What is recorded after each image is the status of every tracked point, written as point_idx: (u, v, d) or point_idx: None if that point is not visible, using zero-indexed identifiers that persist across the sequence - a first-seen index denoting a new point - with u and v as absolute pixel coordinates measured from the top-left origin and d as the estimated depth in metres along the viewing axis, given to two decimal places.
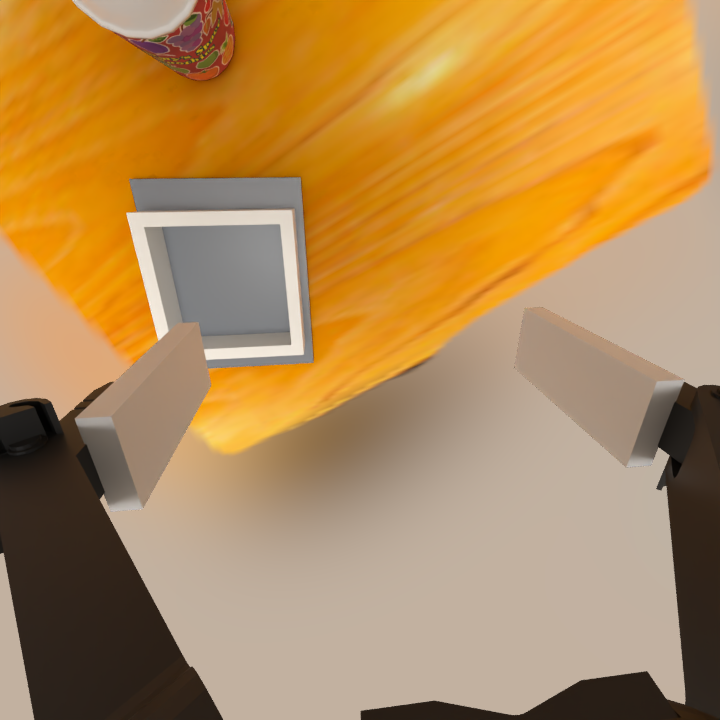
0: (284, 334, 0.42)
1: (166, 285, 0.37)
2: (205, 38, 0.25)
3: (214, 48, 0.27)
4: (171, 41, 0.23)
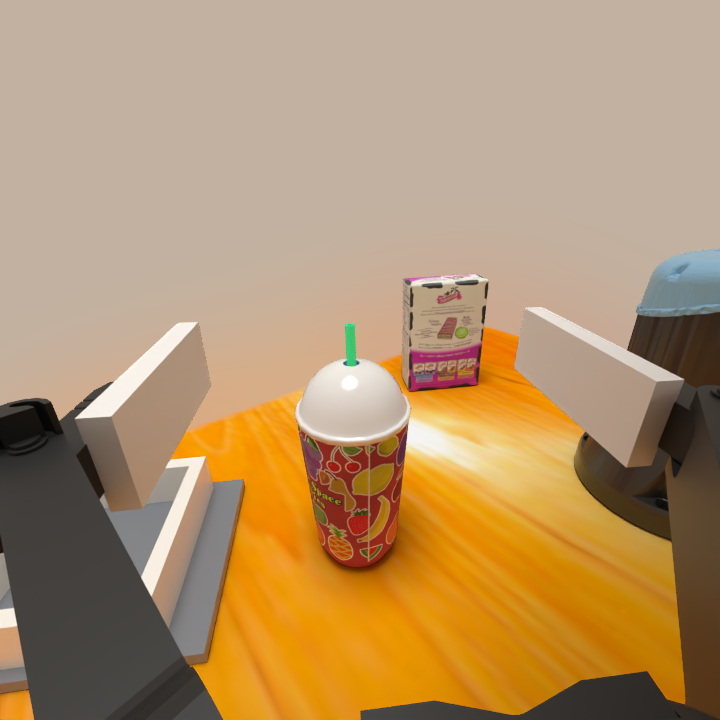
0: None
1: None
2: (319, 483, 0.26)
3: (324, 509, 0.27)
4: (302, 440, 0.26)
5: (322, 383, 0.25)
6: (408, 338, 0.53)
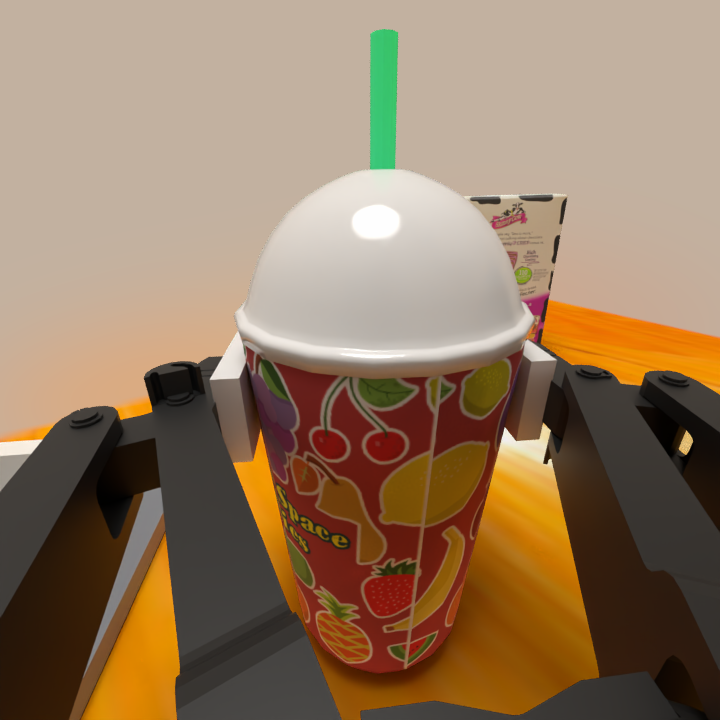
0: None
1: None
2: (293, 491, 0.10)
3: (305, 553, 0.11)
4: (251, 379, 0.10)
5: (302, 209, 0.09)
6: None
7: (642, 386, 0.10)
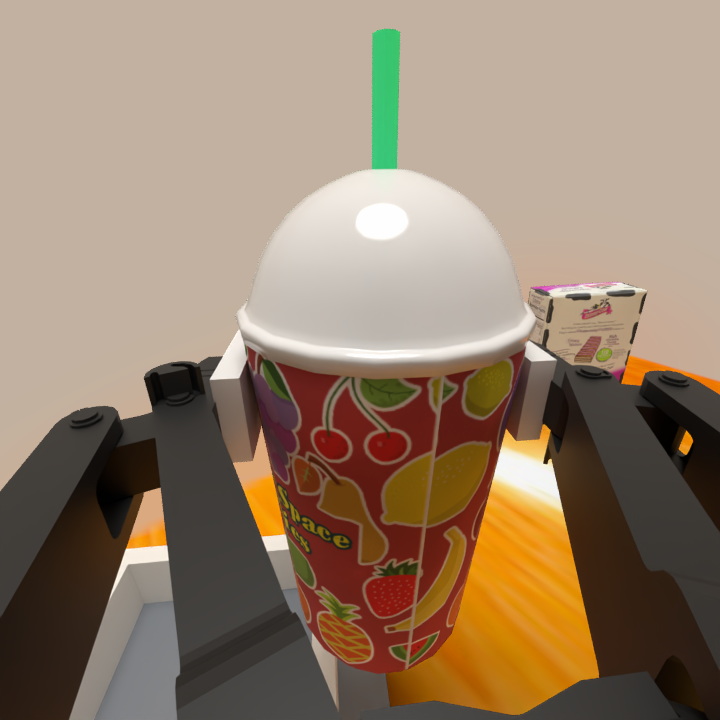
0: None
1: None
2: (294, 491, 0.10)
3: (307, 553, 0.11)
4: (252, 379, 0.10)
5: (304, 209, 0.09)
6: None
7: (642, 386, 0.10)
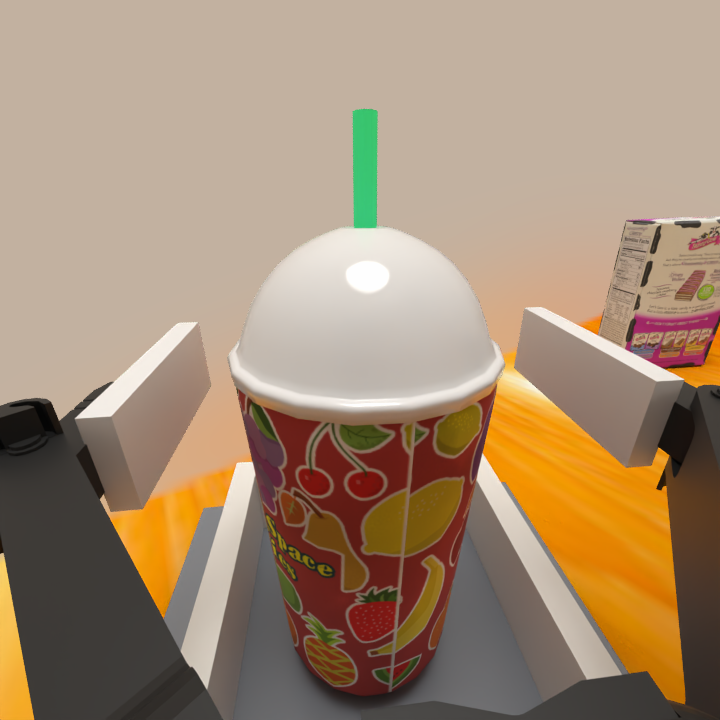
0: None
1: None
2: (281, 522, 0.11)
3: (293, 580, 0.12)
4: (243, 416, 0.11)
5: (290, 265, 0.10)
6: (633, 299, 0.40)
7: None
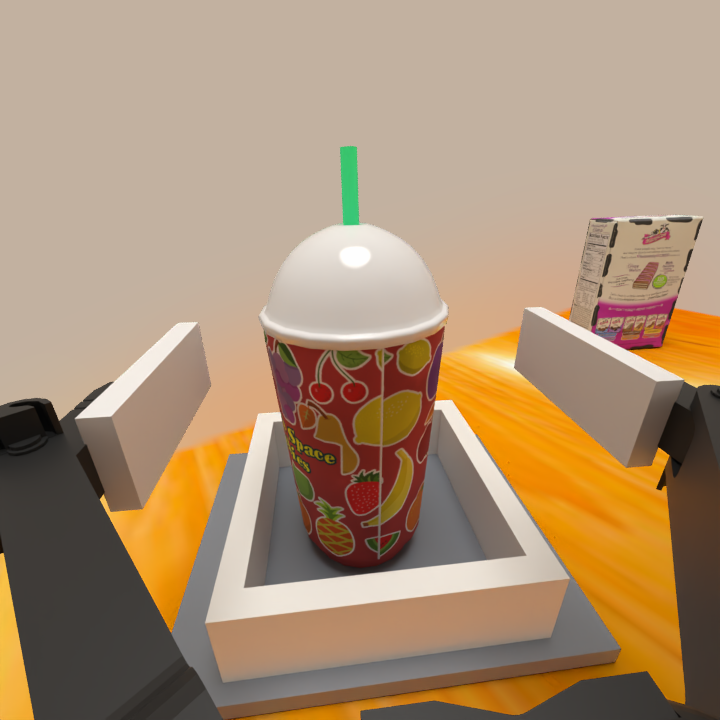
0: None
1: None
2: (299, 428, 0.16)
3: (308, 473, 0.17)
4: (270, 357, 0.16)
5: (301, 251, 0.14)
6: (596, 287, 0.46)
7: None
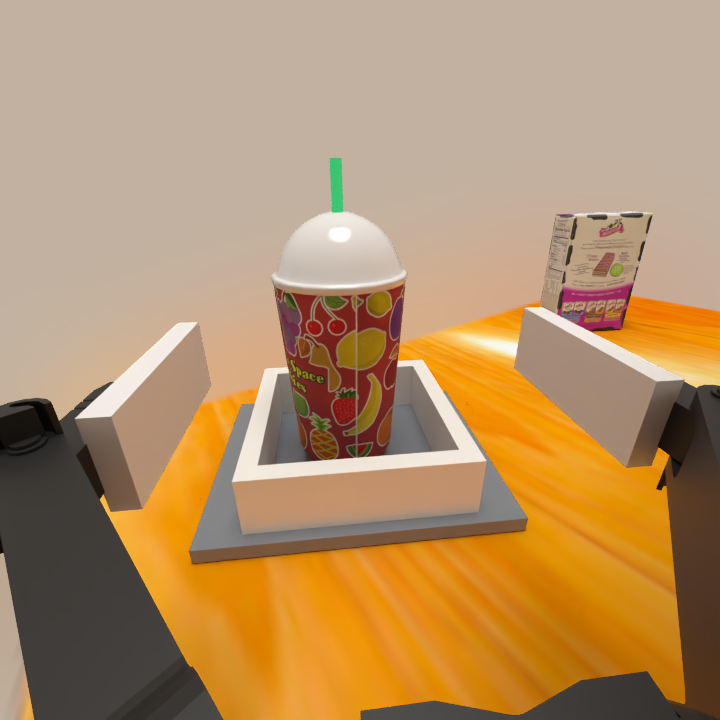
0: None
1: None
2: (298, 357, 0.22)
3: (304, 393, 0.23)
4: (279, 307, 0.22)
5: (302, 230, 0.21)
6: (561, 275, 0.52)
7: None
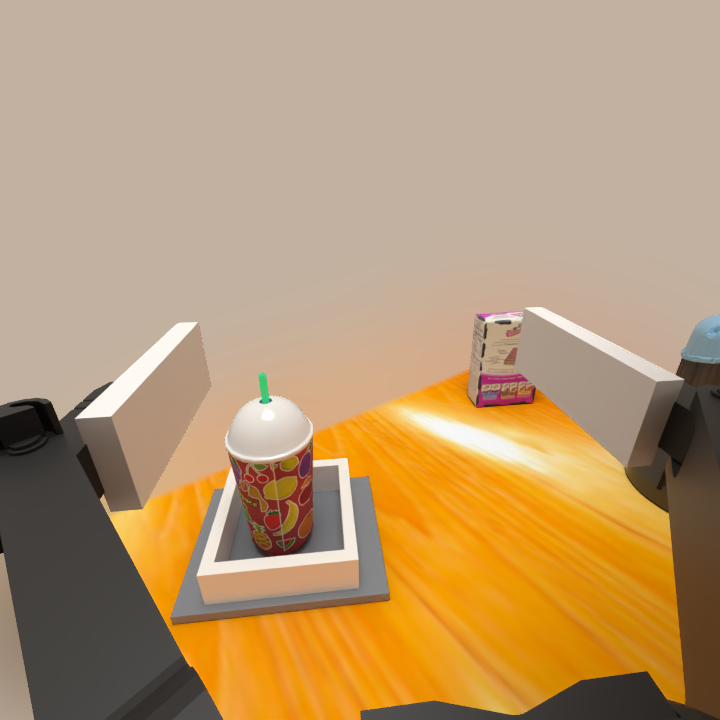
0: None
1: None
2: (242, 490, 0.35)
3: (247, 509, 0.36)
4: None
5: (241, 417, 0.33)
6: (479, 363, 0.64)
7: None
